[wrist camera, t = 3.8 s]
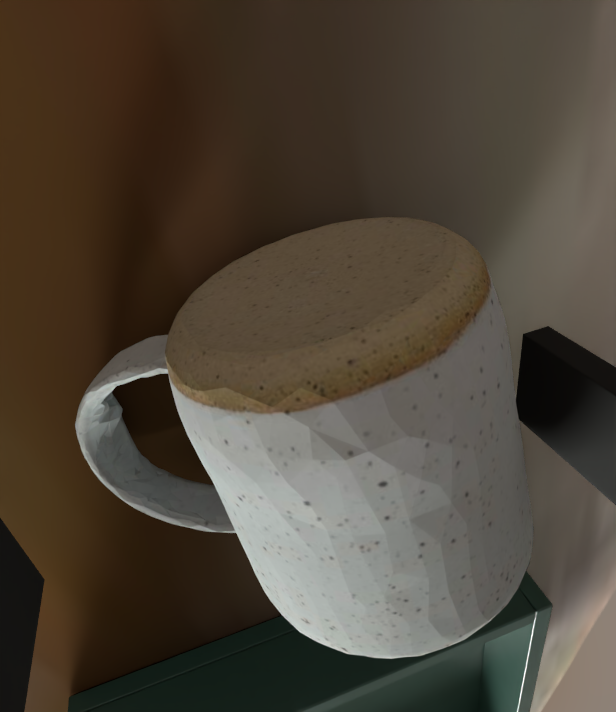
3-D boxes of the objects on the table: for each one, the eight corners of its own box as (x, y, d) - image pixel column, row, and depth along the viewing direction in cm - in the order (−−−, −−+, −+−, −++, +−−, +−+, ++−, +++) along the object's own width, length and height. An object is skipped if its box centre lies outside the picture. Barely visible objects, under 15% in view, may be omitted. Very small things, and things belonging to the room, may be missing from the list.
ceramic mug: (395, 173, 13) (628, 273, 7) (438, 398, 18) (602, 583, 11) (13, 325, 12) (-122, 598, 6) (160, 520, 17) (171, 794, 11)
